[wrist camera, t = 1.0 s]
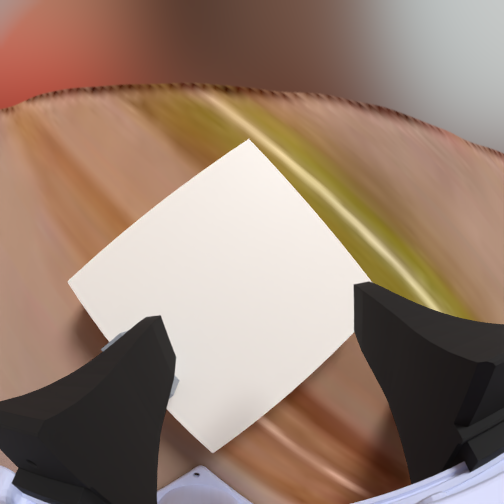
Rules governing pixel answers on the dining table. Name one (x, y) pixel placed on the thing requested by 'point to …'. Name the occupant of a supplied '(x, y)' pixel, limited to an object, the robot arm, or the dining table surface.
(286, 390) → the lid
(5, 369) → the dining table surface
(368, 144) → the dining table surface
